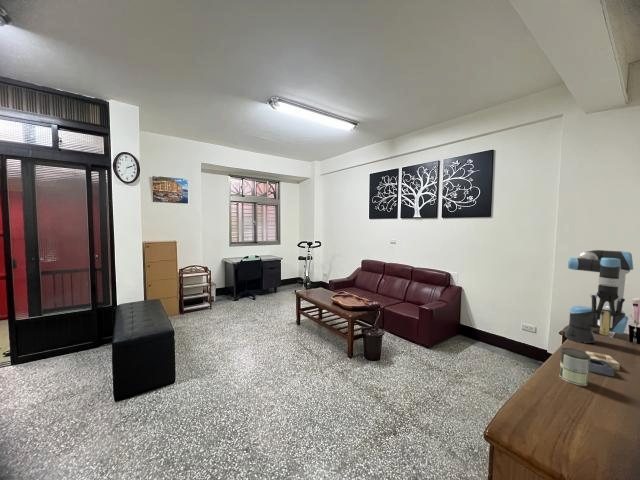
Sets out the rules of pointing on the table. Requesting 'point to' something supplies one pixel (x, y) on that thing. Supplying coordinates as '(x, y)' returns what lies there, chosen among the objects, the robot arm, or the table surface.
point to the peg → (605, 323)
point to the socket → (600, 367)
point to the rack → (604, 359)
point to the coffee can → (574, 366)
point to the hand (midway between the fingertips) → (604, 326)
